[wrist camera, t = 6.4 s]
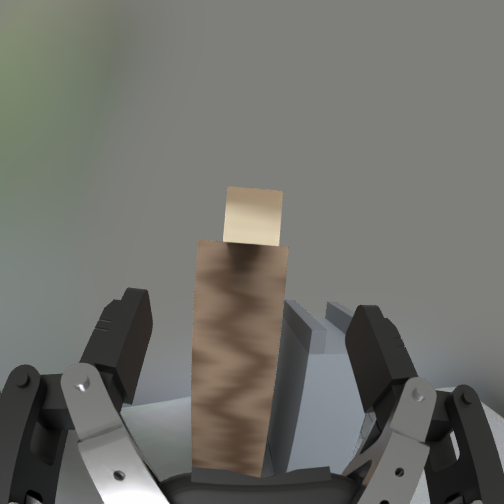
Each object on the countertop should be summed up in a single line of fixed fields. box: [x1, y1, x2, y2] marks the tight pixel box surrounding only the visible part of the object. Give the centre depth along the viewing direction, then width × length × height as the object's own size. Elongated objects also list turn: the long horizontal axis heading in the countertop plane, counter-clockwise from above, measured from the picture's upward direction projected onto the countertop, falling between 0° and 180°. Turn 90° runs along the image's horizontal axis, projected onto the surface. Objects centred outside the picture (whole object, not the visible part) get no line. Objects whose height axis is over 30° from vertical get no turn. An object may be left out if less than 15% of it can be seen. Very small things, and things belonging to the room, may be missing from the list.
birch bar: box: [223, 186, 283, 246], centre depth 28 cm, size 24×3×3 cm, turn 4°
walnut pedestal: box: [191, 240, 289, 478], centre depth 34 cm, size 8×15×32 cm, turn 4°
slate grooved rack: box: [268, 300, 366, 475], centre depth 34 cm, size 8×15×24 cm, turn 4°
